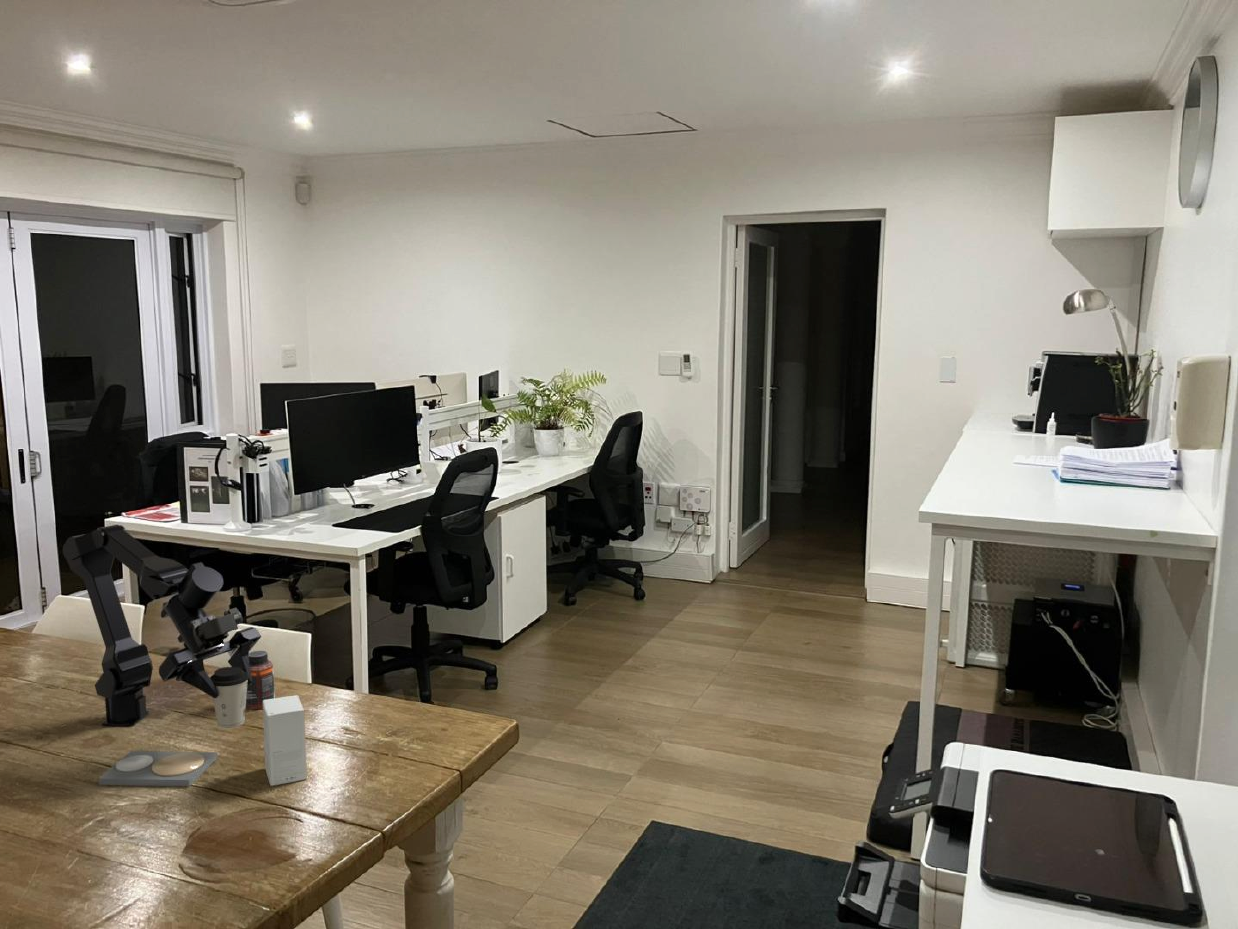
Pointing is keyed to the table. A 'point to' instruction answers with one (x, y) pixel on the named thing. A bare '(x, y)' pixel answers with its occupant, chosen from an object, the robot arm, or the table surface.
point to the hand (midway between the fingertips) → (234, 690)
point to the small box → (284, 740)
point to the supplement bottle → (260, 680)
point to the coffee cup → (230, 696)
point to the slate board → (158, 768)
